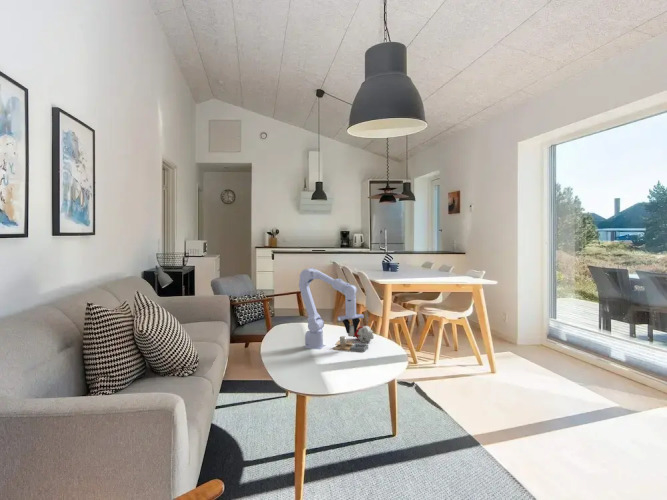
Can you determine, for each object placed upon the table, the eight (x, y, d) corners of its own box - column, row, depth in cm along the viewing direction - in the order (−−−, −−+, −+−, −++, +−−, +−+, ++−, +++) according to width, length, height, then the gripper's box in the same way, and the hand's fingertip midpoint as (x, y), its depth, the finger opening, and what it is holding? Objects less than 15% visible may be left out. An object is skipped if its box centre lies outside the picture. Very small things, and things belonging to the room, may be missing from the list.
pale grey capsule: (347, 336, 230) (346, 326, 230) (349, 334, 233) (349, 324, 233) (352, 336, 229) (352, 326, 229) (355, 335, 232) (355, 325, 232)
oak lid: (334, 345, 241) (334, 342, 241) (338, 341, 250) (338, 338, 250) (350, 346, 239) (350, 343, 239) (353, 342, 248) (353, 339, 248)
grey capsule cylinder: (339, 347, 235) (338, 337, 235) (341, 345, 239) (341, 336, 238) (344, 347, 234) (344, 338, 234) (347, 346, 237) (346, 336, 237)
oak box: (334, 350, 232) (334, 347, 232) (340, 346, 240) (340, 343, 240) (349, 351, 228) (349, 348, 228) (355, 347, 236) (355, 344, 236)
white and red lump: (373, 343, 242) (348, 344, 248) (379, 338, 253) (355, 339, 258) (371, 327, 242) (346, 329, 248) (377, 323, 253) (353, 324, 258)
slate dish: (350, 351, 229) (350, 346, 229) (355, 347, 236) (355, 343, 236) (364, 352, 226) (363, 348, 226) (368, 349, 233) (368, 344, 233)
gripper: (341, 310, 224) (341, 335, 224) (366, 307, 229) (366, 332, 230) (336, 308, 230) (336, 333, 231) (360, 305, 236) (361, 330, 236)
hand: (351, 332), depth 231 cm, fingers closed on pale grey capsule, 3 cm apart
